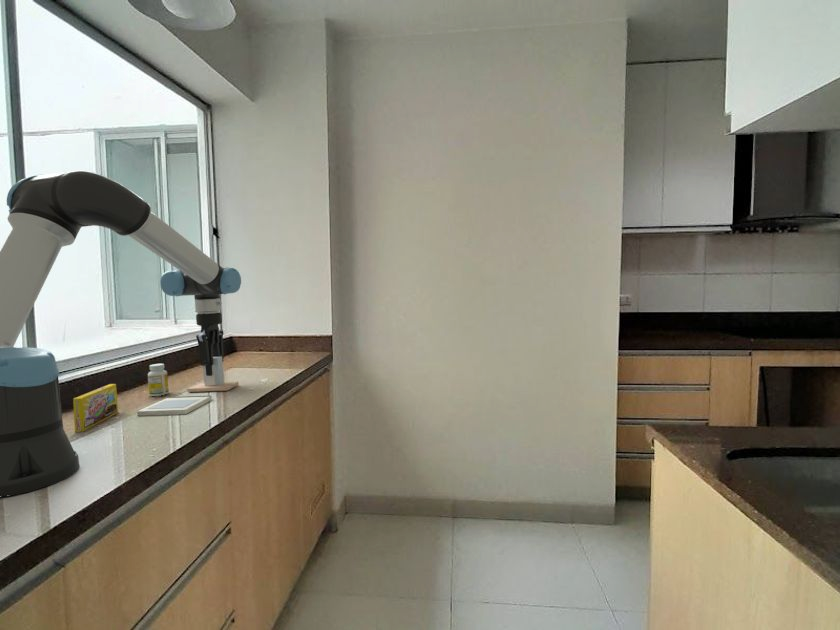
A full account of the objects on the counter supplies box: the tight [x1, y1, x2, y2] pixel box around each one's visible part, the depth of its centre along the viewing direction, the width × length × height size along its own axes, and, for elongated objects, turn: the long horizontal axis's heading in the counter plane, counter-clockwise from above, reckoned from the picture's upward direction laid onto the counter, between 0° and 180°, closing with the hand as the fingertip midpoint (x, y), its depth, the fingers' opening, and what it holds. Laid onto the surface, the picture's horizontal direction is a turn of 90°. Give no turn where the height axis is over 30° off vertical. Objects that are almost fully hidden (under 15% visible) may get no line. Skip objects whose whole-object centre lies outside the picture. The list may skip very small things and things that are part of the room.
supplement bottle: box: [147, 363, 170, 397], centre depth 141 cm, size 5×5×10 cm
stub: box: [186, 356, 239, 393], centre depth 145 cm, size 8×13×10 cm, turn 88°
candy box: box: [72, 383, 119, 433], centre depth 114 cm, size 16×2×8 cm, turn 8°
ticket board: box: [136, 395, 213, 417], centre depth 125 cm, size 14×13×1 cm
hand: (214, 383), depth 146 cm, fingers closed on stub, 3 cm apart
